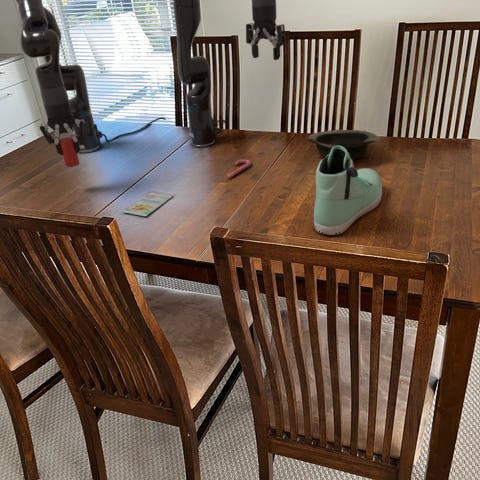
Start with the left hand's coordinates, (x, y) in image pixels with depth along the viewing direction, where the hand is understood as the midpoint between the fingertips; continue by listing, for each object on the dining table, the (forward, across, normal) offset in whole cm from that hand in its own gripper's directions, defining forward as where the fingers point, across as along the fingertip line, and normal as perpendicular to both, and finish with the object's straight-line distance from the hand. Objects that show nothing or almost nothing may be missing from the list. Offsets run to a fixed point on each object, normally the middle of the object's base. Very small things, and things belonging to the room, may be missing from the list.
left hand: (69, 153), depth 156 cm
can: (+4, 0, 0) cm, 4 cm away
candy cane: (+14, +54, -3) cm, 56 cm away
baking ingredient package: (+14, +22, -19) cm, 32 cm away
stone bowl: (+13, +93, -4) cm, 94 cm away
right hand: (-22, +68, +3) cm, 71 cm away
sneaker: (+13, +79, -42) cm, 90 cm away
